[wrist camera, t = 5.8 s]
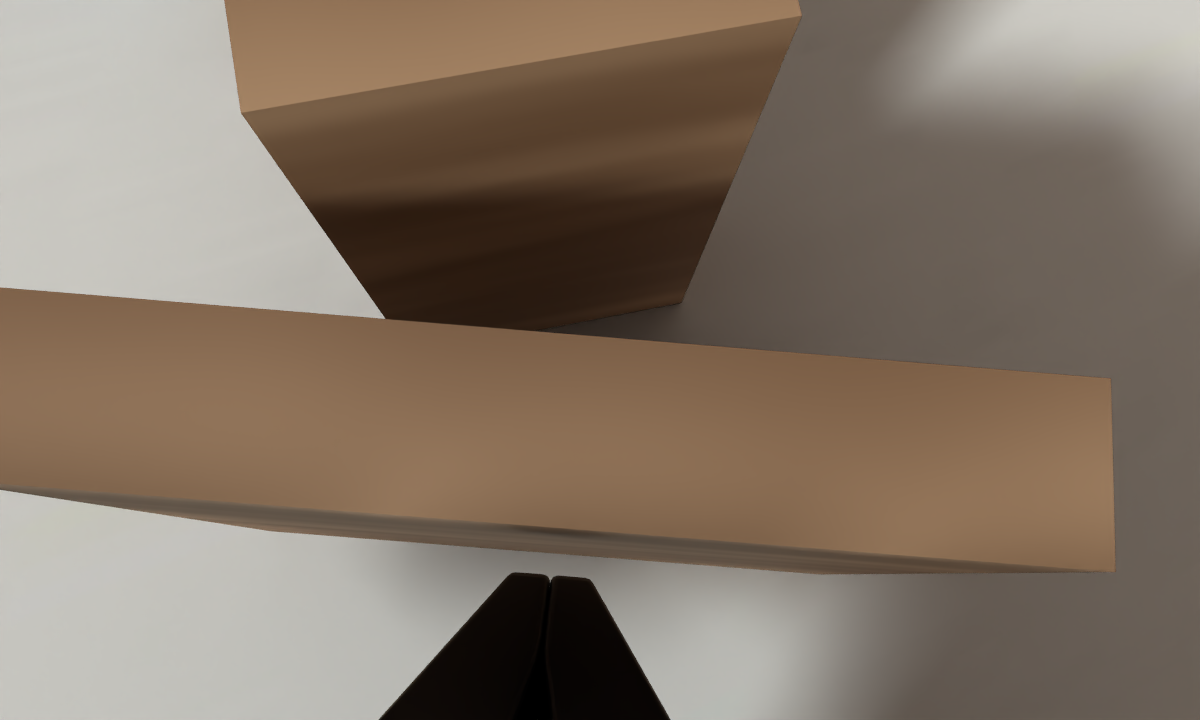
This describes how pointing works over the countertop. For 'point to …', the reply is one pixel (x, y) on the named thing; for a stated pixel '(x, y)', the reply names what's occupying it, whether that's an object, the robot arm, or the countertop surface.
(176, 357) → the domino
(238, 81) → the domino
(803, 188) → the countertop surface
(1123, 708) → the countertop surface
